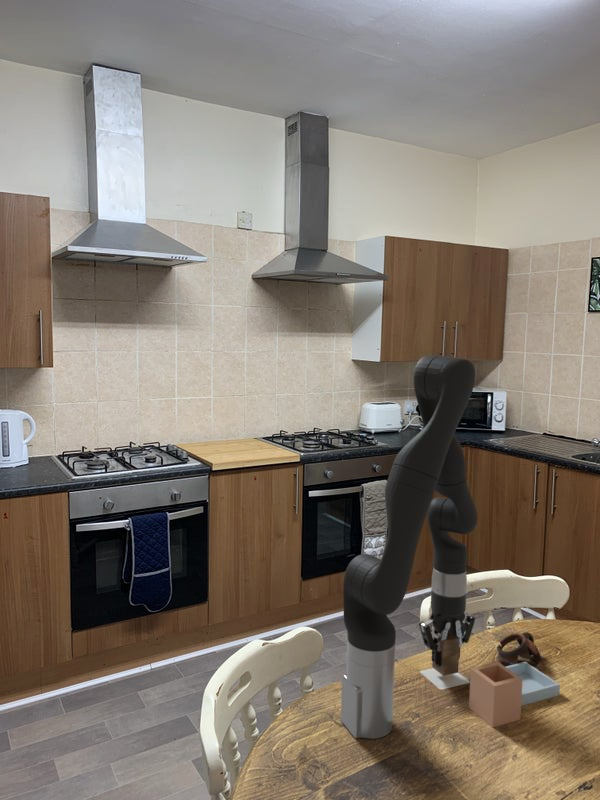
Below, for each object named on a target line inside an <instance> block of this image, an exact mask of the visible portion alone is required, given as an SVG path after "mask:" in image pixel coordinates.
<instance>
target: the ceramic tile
mask: <svg viewBox="0 0 600 800" xmlns="http://www.w3.org/2000/svg"><path fill="white" fill-rule="evenodd" d="M418 672H420V674H421V675H422V676H423V677H424V678H426V679H427V680H428V681H429V682H431V684H433V685H434V686H435V687H436V688H437V689H439V690H440V691H442V690H446V689H450V688H454V687H457V686H458V687H459V686H463V685H467V684H470V680H468V679H467V678H466V677H465V676H463V675H462V674H461V673H460V672H458V673H454V674H450V675H446V676H443V675H441V674H440V673H439V672H438V671H437V670H435V669H434V668H433V667H431V668H428V669H423V670H419V671H418Z"/></svg>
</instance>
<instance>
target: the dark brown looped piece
mask: <svg viewBox="0 0 600 800" xmlns="http://www.w3.org/2000/svg"><path fill="white" fill-rule="evenodd" d="M534 639H535V638H534V637H533V635H532V634H531V633H530V632H529V631H528V632H522V633H511V634H509V635H506V636H505V637H503V638H502V639H501V640H499V643H500V644H498V646H496V651H497V652H498V653H497V659H498V660H499V662H502V663H506V664H511V663H512V664H518V663H519V661H518V660H519V657H520V658H522V659H525V660H530V659H532V658H533V661H534V662H536V663H537V666H536V669H537V670H539V671H540V672H542V671H544V665H543V659H542V656H541V653H540V651H539V648H537V645H536V644H535V640H534ZM515 641H516V642H517V643H518V646H517V647H516V648H515V649H512V650H509V651H504V650H503V649H504V648H505V646H507V645H508V644H510V643H512V642H515ZM531 656H532V657H531Z"/></svg>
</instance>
